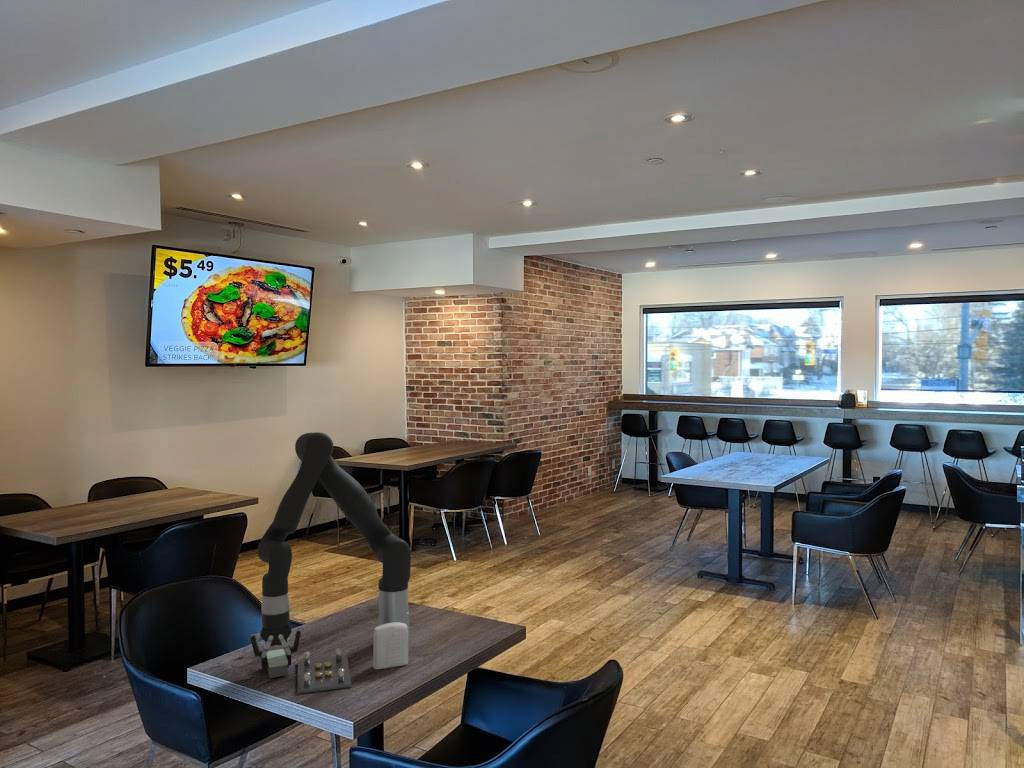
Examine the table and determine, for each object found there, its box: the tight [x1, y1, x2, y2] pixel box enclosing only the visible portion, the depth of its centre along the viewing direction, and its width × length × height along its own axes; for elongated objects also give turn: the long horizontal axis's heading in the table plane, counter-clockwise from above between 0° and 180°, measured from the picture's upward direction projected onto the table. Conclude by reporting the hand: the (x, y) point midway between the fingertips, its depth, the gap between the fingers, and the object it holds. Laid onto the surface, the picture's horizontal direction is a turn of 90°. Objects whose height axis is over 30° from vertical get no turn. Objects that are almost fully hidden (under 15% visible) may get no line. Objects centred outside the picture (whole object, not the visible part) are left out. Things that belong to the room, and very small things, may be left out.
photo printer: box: [372, 622, 409, 670], centre depth 209 cm, size 10×4×12 cm, turn 115°
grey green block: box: [266, 648, 289, 679], centre depth 205 cm, size 5×10×4 cm, turn 24°
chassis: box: [296, 647, 352, 695], centre depth 203 cm, size 14×21×4 cm, turn 16°
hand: (276, 667), depth 205 cm, fingers closed on grey green block, 5 cm apart
